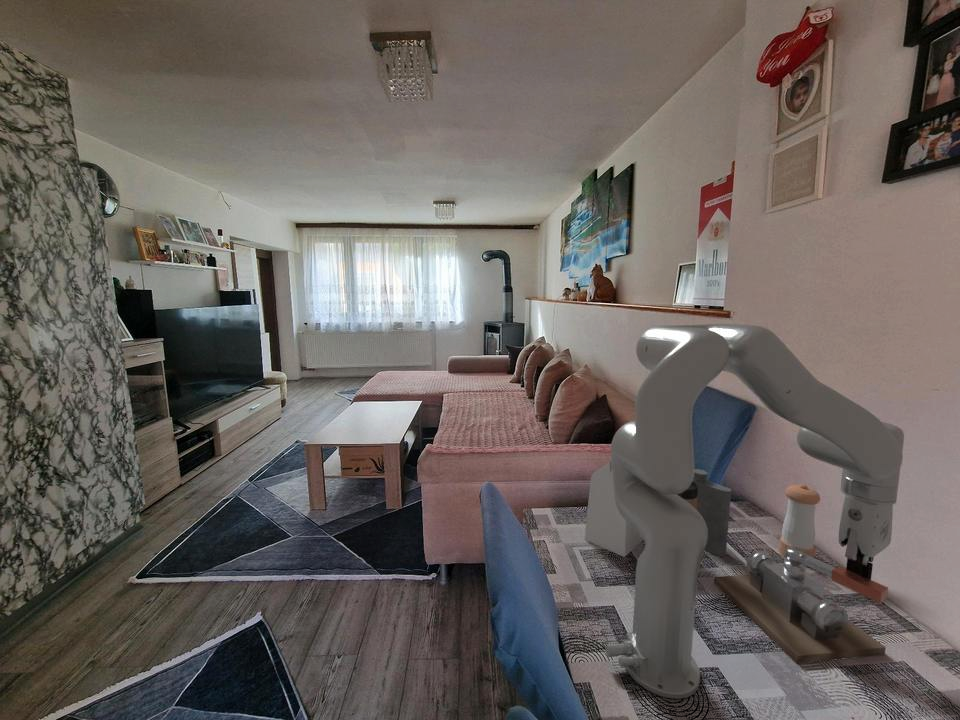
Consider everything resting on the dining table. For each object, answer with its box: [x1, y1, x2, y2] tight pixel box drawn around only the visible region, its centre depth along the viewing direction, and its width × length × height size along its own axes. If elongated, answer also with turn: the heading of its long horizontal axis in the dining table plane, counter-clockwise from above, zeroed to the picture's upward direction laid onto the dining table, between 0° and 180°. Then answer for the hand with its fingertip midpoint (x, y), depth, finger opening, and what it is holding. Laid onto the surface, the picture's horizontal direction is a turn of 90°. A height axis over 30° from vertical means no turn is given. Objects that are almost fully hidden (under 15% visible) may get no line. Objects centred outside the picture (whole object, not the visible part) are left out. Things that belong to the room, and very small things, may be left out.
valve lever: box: [785, 547, 889, 604], centre depth 79 cm, size 15×3×2 cm, turn 29°
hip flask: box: [693, 468, 732, 557], centre depth 112 cm, size 16×4×20 cm, turn 28°
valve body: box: [746, 549, 849, 640], centre depth 85 cm, size 7×18×10 cm, turn 7°
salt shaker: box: [778, 483, 821, 558], centre depth 105 cm, size 7×7×19 cm
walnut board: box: [713, 573, 886, 664], centre depth 85 cm, size 18×22×2 cm
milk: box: [584, 455, 644, 558], centre depth 112 cm, size 12×12×26 cm
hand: (857, 579), depth 78 cm, fingers closed
